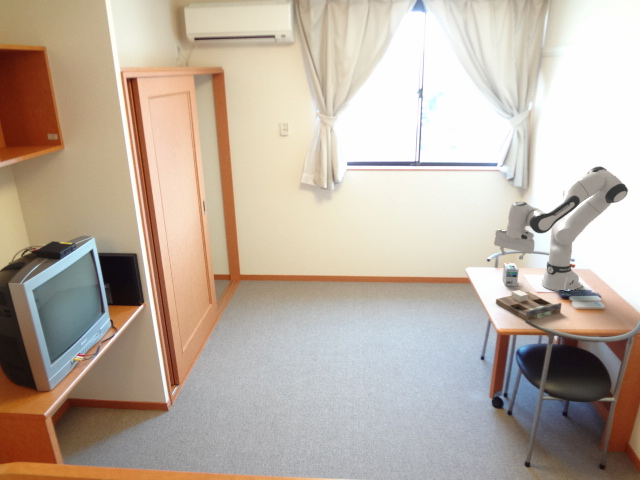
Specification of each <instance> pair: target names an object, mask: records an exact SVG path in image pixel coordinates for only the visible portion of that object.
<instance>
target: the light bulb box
mask: <svg viewBox="0 0 640 480" xmlns="http://www.w3.org/2000/svg"><path fill="white" fill-rule="evenodd" d="M518 277H519V267H518V266H517V264H516V263H515V262H504V263H503V270H502V282H503V284H504V286H505V287H517V286H518Z"/></svg>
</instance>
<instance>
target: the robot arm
mask: <svg viewBox="0 0 640 480" xmlns="http://www.w3.org/2000/svg"><path fill="white" fill-rule="evenodd" d="M628 192H629V189H628V187H627V186H626V184H625V183H623V182H622V181H621V179H619V177H617V176H616V175H614V174H613V173H611V172H610V171H609V170H608V169H607V168H605V167H603V166H595V167H593V168H591V169H590V170H589V171H587V174H584V175H581V177H578V178H577V179H575V180H573V181H572V182H570V183H568V185H566V186H565V187H564V189H563V191H562V196H563V199H562V201H561V202H560V203H559V204H558V205H556V206H555V207H553V208H552V209H550V210H549V211H546V212H544V211H543V210H541V209H539V208H536V207H534V206H532V205H530V204H528V203H527V202H525V201H516V202H514V203H512V204H511V205H510V207H509V212H508V217H507V218H508V223H507V225H506V226H507V227H506V229H500V228H499V229H497V230H495V237H494V241H493V244H494V246H496V247H500V248H499V249H500V251H501V255H502V256H506V252H507V251H505V250H504V249H508V250H511V251H517V252H521V254H520V255H519V257H518V259H519V260H523V259H524V256H525V255H526V254H532V253H533V252H534V251H535V239H534V237H535V234H534V233H537V234H545V233H547V232H549V231H550V230H551V231H550V242H549V243H550V245H549V252H548V260H547V262H546V268H545V272H544V274H543V278H542V279H541V286H542V287H544V288H545V289H548V290H552V291H557V292H560V291H559V290H561V289H562V290H568V289H570V290H573V289H576V290H577V288H578V289H580V288H582V287H583V286H584V285H583V283H582V282H580V281H579V279H580V278H579V275H578V274H577V273H576V272H574V270H573V269H574V268H575V267H576V264H574V263H571V260H572V259H571V258H572V255H573V254H572V253H573V243H574V241H575V240H576V239H577V237H578V236H579V235H580V234H581V233H582V232H583V231H584V230H585V229H586V227H587V226H589V224H591V222H593V221H594V220H595V219H597V218H598V217H599V216H600V215H601V214H602V213H604V212H605V211H606V210H607V209H608V207H610V206H611V205H612V203H618V202H621V201H622V200H624V199H625V198H626V196H627V195H628ZM526 227H530V228H531V229H532V231H533V232H534V233H533V232H531V231H529V230H527V229H526ZM572 268H573V269H572ZM573 291H574V290H573Z"/></svg>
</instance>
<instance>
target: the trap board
mask: <svg viewBox="0 0 640 480" xmlns="http://www.w3.org/2000/svg"><path fill="white" fill-rule="evenodd" d="M524 293H526V294H528V298H527V300H526V301H522V302H519V301H517V300H515V299H513V298H511V297H512V295H508V296H504V297H500V298H496V299H495V304H496V305H498V306H500V307H502V308H503V309H505V310H507V311H508V312H510V313H512V314H514V315H516V316H517V317H519V318H521V319H522V320H524V321H526V320H530V321H533V320H537V319H540V318H544V317H548V316H553V315H556V314H559V313H561V312H562V311H561V309H562V302H558V303H554V304H553V303H551V302H550V301H547V300H545V299H543V298H541V297H539V296H537V295H536V294H534V293H532V292H530V291H524Z"/></svg>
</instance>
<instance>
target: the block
mask: <svg viewBox="0 0 640 480" xmlns="http://www.w3.org/2000/svg"><path fill="white" fill-rule="evenodd" d="M511 296H512V297H511V298H513V299H515V300H517V301H519V302H522V301H526V300H527V298H528V294H526V293H525V291H522V290H520V289H518V290H513V291H512V292H511Z"/></svg>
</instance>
